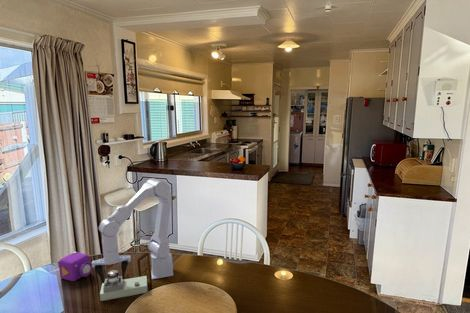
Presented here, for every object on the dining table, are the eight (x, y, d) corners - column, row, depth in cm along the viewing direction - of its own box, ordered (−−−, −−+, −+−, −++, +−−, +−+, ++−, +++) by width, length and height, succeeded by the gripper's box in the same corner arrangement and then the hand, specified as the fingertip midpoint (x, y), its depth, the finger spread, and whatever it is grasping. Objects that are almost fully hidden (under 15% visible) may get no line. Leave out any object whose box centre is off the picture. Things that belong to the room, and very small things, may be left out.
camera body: (147, 281, 134) (146, 271, 133) (147, 292, 126) (146, 281, 125) (102, 289, 129) (101, 278, 128) (100, 301, 121) (99, 289, 120)
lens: (120, 282, 129) (118, 269, 128) (119, 287, 125) (117, 274, 124) (109, 284, 127) (107, 270, 126) (108, 289, 123) (106, 276, 122)
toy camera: (83, 284, 133) (81, 263, 131) (56, 281, 136) (54, 260, 134) (99, 271, 143) (97, 251, 142) (73, 268, 146) (71, 249, 144)
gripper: (129, 242, 129) (132, 271, 131) (92, 247, 125) (95, 277, 127) (129, 249, 122) (131, 280, 124) (89, 255, 118) (93, 287, 120)
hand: (113, 279), depth 125 cm, fingers open, 7 cm apart
